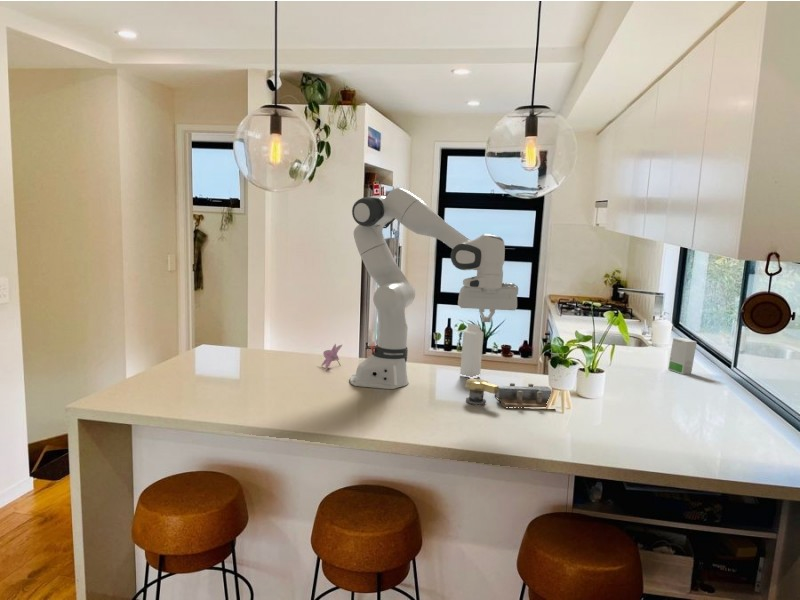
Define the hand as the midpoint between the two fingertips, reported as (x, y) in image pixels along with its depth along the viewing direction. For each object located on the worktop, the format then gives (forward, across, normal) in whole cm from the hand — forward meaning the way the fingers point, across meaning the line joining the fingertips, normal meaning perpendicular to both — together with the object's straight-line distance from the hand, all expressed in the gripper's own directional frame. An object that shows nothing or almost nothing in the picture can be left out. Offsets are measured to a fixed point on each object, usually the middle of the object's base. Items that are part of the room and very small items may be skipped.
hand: (486, 321), depth 196 cm
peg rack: (+29, -17, -2) cm, 34 cm away
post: (+29, +1, -1) cm, 29 cm away
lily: (+29, +53, -42) cm, 74 cm away
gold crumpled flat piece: (+24, 0, 0) cm, 24 cm away
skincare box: (+29, -109, -56) cm, 126 cm away
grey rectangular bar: (+28, -17, -2) cm, 32 cm away
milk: (+29, -4, -34) cm, 45 cm away
